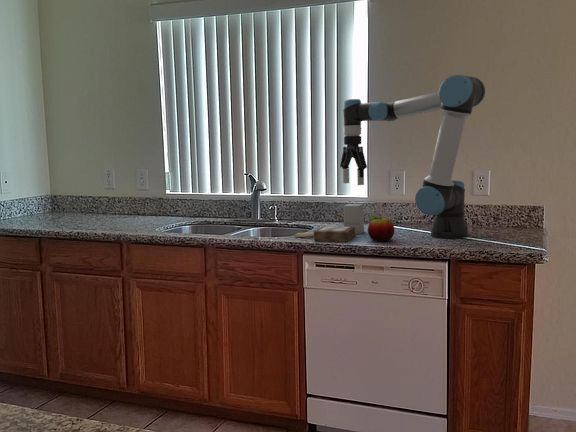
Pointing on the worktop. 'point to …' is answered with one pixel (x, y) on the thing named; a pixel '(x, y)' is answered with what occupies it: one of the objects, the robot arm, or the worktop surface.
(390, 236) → the fruit
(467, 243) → the worktop surface
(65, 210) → the worktop surface
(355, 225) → the supplement box
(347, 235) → the stand
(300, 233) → the cork coaster
